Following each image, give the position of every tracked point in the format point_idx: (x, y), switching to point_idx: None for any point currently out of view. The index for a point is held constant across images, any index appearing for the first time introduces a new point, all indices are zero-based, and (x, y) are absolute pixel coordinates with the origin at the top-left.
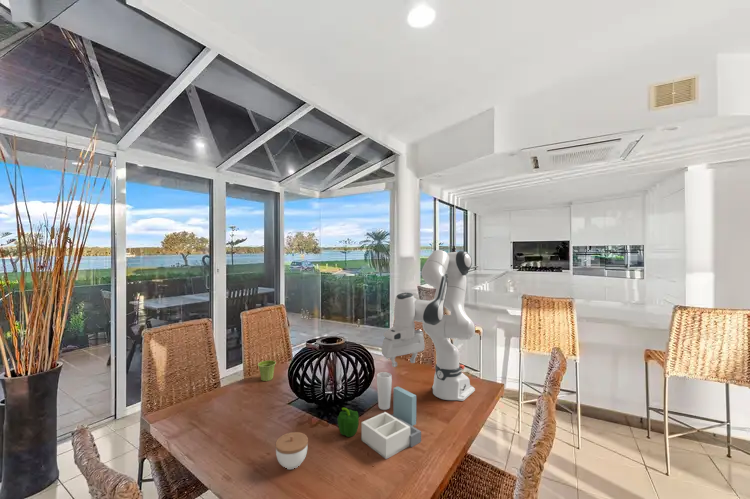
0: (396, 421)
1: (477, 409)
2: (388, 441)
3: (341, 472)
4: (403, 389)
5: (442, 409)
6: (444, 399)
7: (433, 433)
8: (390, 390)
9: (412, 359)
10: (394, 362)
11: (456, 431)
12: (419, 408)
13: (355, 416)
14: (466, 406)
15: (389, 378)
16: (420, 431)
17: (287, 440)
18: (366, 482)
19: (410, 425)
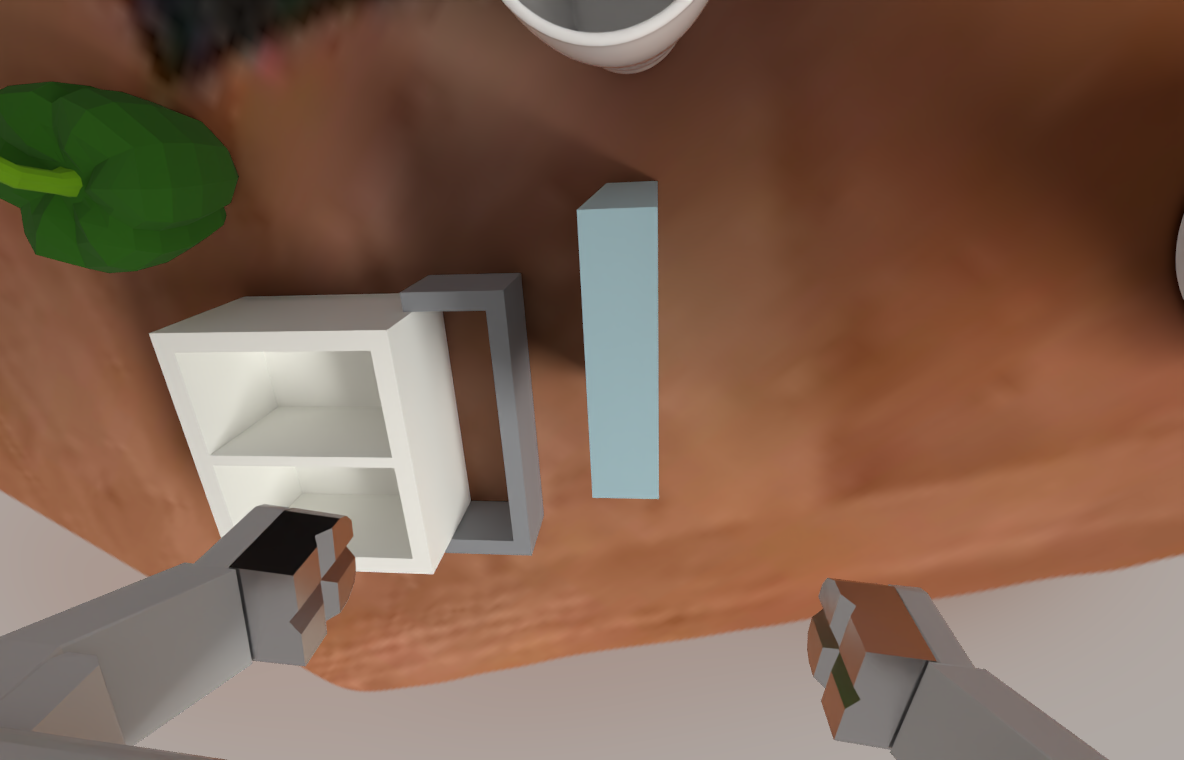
0: (398, 469)
1: (1173, 530)
2: None
3: (72, 435)
4: (650, 319)
5: (987, 371)
6: (1178, 281)
7: (663, 510)
8: (649, 60)
9: (832, 735)
10: (197, 674)
11: (788, 576)
12: (863, 240)
13: (103, 261)
14: (1171, 459)
15: (610, 49)
16: (526, 553)
17: None
18: (161, 541)
19: (518, 478)
